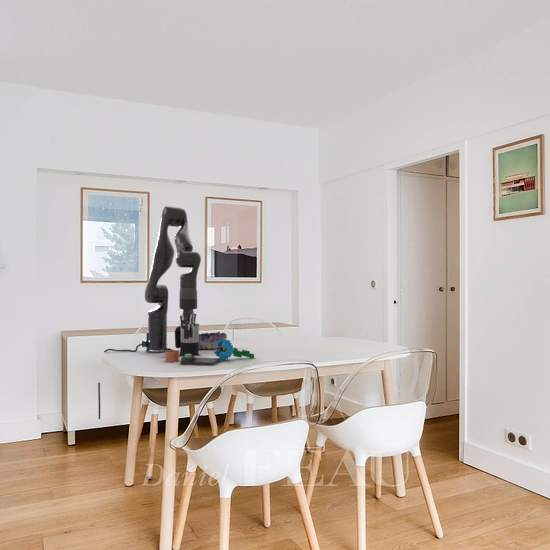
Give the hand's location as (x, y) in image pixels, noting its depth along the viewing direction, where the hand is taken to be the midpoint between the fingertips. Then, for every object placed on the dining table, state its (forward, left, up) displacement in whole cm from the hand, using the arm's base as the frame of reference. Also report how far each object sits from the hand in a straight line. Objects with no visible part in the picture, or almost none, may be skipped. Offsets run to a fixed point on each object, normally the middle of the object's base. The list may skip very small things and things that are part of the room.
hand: (188, 337), depth 229 cm
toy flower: (+16, +17, -11) cm, 26 cm away
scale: (+4, +4, -11) cm, 13 cm away
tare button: (0, 0, -9) cm, 9 cm away
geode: (-8, +49, -11) cm, 50 cm away
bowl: (-10, +6, -11) cm, 16 cm away
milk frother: (-12, +23, -11) cm, 28 cm away
